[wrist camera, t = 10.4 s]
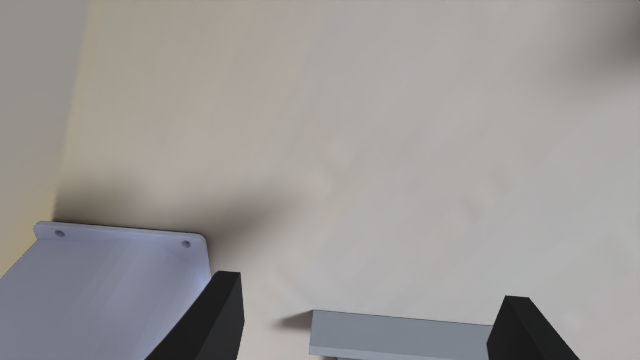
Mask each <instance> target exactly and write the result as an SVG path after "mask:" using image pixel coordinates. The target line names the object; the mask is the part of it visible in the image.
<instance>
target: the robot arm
mask: <svg viewBox="0 0 640 360" xmlns="http://www.w3.org/2000/svg"><path fill="white" fill-rule="evenodd" d="M33 229H34V232H35V235H36V237H37V241H36V242H35V243H34V244H33V245H32V246H31V247H30V248H29V249H28V250H27V251H26V252H25V254H23V255H22V257H21V258H20V259H19V260H18V261H17V262H16V263H15V264H14V265H13V266H12V267H11V268H10V269H9V270H8V271H7V273H6V274H5V275H4V276H3V277H2V278H1V279H0V360H236V359H237V355H238V351H239V346H240V341H241V337H242V332H243V327H244V322H245V320H244V309H243V297H242V286H241V274H240V272H228V271H218V272H216V273H215V274H214V275H213V277H212V278H211V272H210V265H209V258H208V251H207V244H206V240H205V238H204V237H203V236H201V235H199V234H193V233H181V232H169V231H157V230H145V229H133V228H120V227H108V226H96V225H84V224H72V223H60V222H48V221H40V222H38V223H37V224H36V225H35V226H34V228H33ZM185 241H188V242H189V243H187V242H185ZM486 345H487V352H488V358H489V360H580V359H579V358H578V357H577V356H576V355H575V354H574V352H573V351H572V350H571V349H570V348H569V346H568V345H567V344H566V343H565V341H564V340H563V339H562V338H561V337H560V335H559V334H558V333H557V332H556V330H555V329H554V328H553V327H552V326H551V324H550V323H549V322H548V321H547V319H546V318H545V317H544V316H543V314H542V313H541V312H540V311H539V310H538V308H537V307H536V306H535V305H534V303H533V302H532V301H531V300H530V298H529V297H518V296H506V295H505V298H504V300H503V303H502V305H501V308H500V310H499V313H498V315H497V318H496V320H495V323H494V325H493V328H492V330H491V333H490V335H489V338H488V340H487V343H486Z"/></svg>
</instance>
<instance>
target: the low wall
mask: <svg viewBox="0 0 640 360" xmlns="http://www.w3.org/2000/svg"><path fill="white" fill-rule="evenodd" d="M492 328H493V326H485V325H474V324H463V323H452V322H440V321H429V320H418V319H407V318H396V317H385V316H373V315H362V314H351V313H340V312H329V311H318V310H313V318H312V327H311V336H310V344H309V355H320V356H330V357H341V358H352V359H362V360H489V358H488V352H487V345H486V343H487V340H488V338H489V335H490V333H491V330H492Z"/></svg>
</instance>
